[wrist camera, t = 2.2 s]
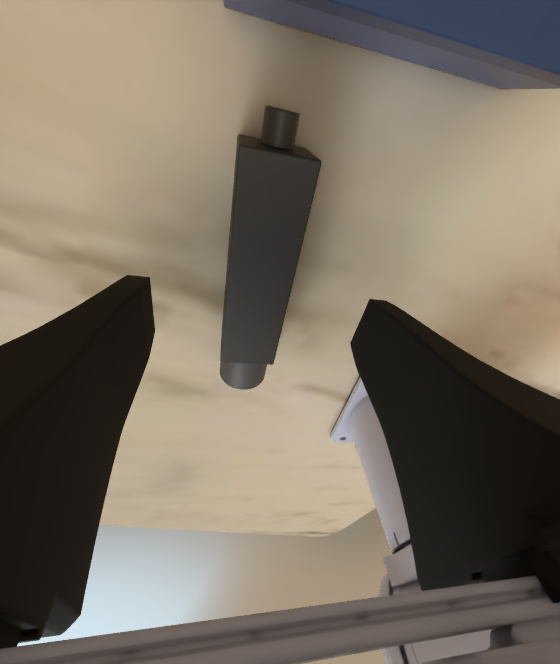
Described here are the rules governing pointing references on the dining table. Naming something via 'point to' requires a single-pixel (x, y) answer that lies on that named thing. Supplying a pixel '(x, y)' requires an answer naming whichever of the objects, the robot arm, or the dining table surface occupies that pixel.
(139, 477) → the dining table surface
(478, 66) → the blue box
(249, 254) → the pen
